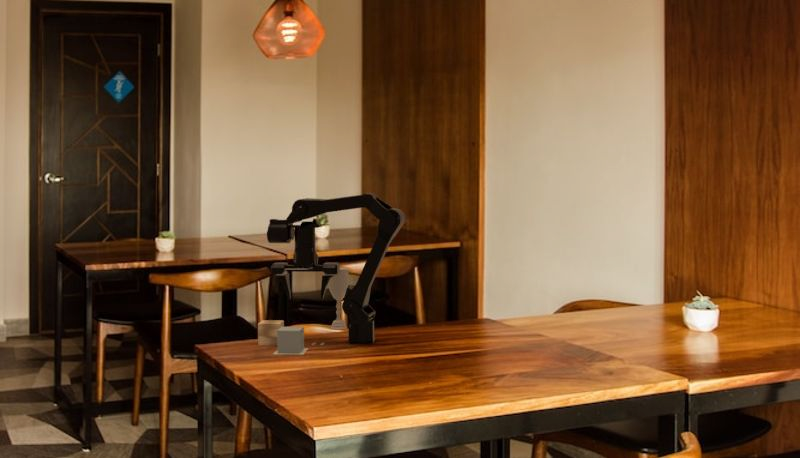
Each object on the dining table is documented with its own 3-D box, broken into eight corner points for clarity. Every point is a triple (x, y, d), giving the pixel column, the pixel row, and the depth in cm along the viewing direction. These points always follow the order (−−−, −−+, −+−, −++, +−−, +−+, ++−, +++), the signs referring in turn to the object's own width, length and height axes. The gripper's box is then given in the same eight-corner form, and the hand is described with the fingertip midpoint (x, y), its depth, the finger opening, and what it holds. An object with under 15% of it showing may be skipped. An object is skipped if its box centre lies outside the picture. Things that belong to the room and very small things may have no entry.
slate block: (304, 348, 270) (303, 326, 270) (300, 353, 264) (299, 330, 264) (282, 348, 271) (281, 326, 270) (277, 353, 265) (277, 330, 264)
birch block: (284, 341, 282) (283, 320, 281) (280, 345, 276) (279, 323, 275) (263, 341, 282) (262, 320, 282) (258, 345, 276) (257, 323, 276)
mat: (308, 349, 271) (308, 348, 271) (303, 355, 263) (303, 354, 263) (278, 349, 272) (278, 348, 272) (272, 355, 264) (272, 353, 264)
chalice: (352, 326, 308) (351, 267, 306) (349, 330, 301) (348, 270, 300) (328, 326, 308) (327, 267, 307) (324, 329, 302) (324, 270, 300)
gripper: (342, 241, 289) (342, 295, 290) (277, 241, 290) (278, 295, 291) (336, 244, 277) (337, 300, 279) (269, 244, 279) (270, 300, 280)
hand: (305, 299), depth 282 cm, fingers open, 9 cm apart
